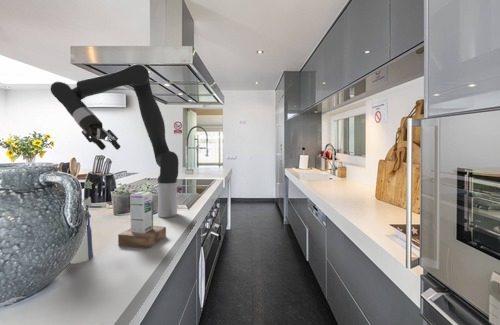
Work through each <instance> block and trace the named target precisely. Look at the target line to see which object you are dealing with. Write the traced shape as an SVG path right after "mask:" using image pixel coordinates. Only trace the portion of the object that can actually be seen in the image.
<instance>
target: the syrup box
mask: <svg viewBox="0 0 500 325" xmlns="http://www.w3.org/2000/svg"><path fill="white" fill-rule="evenodd" d="M153 204H154V202H153V192H151V191H138V192H135V193H132V194H129V208H130V209H129V210H130V229H131V232H133V233H143V234H145V233H146V232H148V231H150V230H151V229H153V226H154V215H153V214H154V213H153V210H154V207H153Z"/></svg>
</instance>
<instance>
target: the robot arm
mask: <svg viewBox="0 0 500 325" xmlns="http://www.w3.org/2000/svg"><path fill="white" fill-rule="evenodd" d="M125 86H132V88H133V91H134V92H135V94H136V97H137V98H136V99H137V101H138V108H139V110H140V111H139V113H140V115H141V116H140V117H141V119H142V122H143V125H144V127H145V130H146V133H147V136H148V138H149V142H150V143H151V146H152V149H153V150H152V151H153V154H154V159H155V162H156V165H157V166H158V167H159V169H160V170H159V174H158V175H159V176H158V178H157V217H159V218H163V219H164V218H173V217H176V216H178V193H177V192H178V186H177V184H178V178H179V177H178V176H179V164H180V163H179V157H178V155H177V153H175V151H171V150H170V149H169V146H168V143H167V140H166V127H165V120H164V117H163V114H162V111H161V109H160V107H159V105H158V102H157V101H156V99H155V96H154V94H153V91H152V88H151V84H150V72H149V70H148V68H147V67H146V66H144V65H142V64H139V63H136V64H135V63H134V64H132V65H130V66H128V67H125V68H122V69H121V70H118V71H115V72H111V73H107V74H103V75H98V76H93V77H88V78H85V79H80V80H78V81H77V82H76V86H75V87H73V88H71V86H70V85H69V84H67V83H66V82H64V81H55V82H53V83H52V84H51V85H50V93H51V94H52V95H53V96H54V98H55V99H57V101H58V102H59V103H60V104H61V105H62V106H63V107H64V109H65V110H66V111H67V112H68V113H69V115H70V116H71V117H72V118H73V120H74V122H76V124H77V125H78V126H79V127H80V129H82V131H81V133H82V135H83V136H84V138H86V140H87V141H88V142H89V143H93V144H95V145H96V146H97V147H98V148H99V149H100V150H101V151H104V150H105V149H106V147H107V146H106V144H105V143H104V142H103V141H105V142H107V143H110V144H111V145H112V146H113V148H114V149H115V150H117V151H118V150H120V148H121V145H120V143H119V142H118V140H119V138H118V136H116V134H115V133H114V132H113V131H112V130H111V129H108V130H106V129H104V127H103V123H102V121H101V120H100V119H99V117H97V116H96V114H95V113H94V111H92V110H91V109H89V107H88V106H87V105H86V104H85V103H84V101H82V100H83V99H85V98H87V97H91V96H96V95H99V94H103V93H105V92H108V91H111V90H114V89H116V88H117V89H118V88H120V87H125ZM102 140H103V141H102Z"/></svg>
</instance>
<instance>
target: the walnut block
mask: <svg viewBox="0 0 500 325" xmlns="http://www.w3.org/2000/svg"><path fill="white" fill-rule="evenodd" d="M117 237H118V239H117V240H118V241H117V242H118V246H123V247H129V248H130V247H131V248H140V249H150V248H152V247H153V246H154V245H156V244H158V243H159V242H160V241H162V240H163V239H165V238H166V237H167V227H166V226H162V225H161V226H158V225H153V229H151V230H150V231H148V232H146V233H145V234H143V233H133V232H131V228H128V229H127V230H124V231H123V232H120V233H119V234H117Z"/></svg>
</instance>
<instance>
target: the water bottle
mask: <svg viewBox="0 0 500 325" xmlns="http://www.w3.org/2000/svg"><path fill="white" fill-rule="evenodd" d="M93 184H94V182H91V181H90V179H87V181H85V182H84V185H86V189H91V190H92V189H93V188H92V185H93ZM82 200H83V201H84V204H85V205H86V207H87V210H88V225H87V231H86V235H85V238H84V240H83V243H82V245H81V247H80V249H79V251H78V253H77V254H76V256H75V257H74V259H73V260H72V262H71V264H70V265H74V264H81V263H84V262H87V261H90V260H91V259H93V257H94V252H93V251H94V250H93V238H92V237H93V236H92V235H93V234H92V227H91V223H90V222H91V217H92V215H91V214H90V211H89V207H91V206H92V205H93V204H92V198H91V196H89V197H88V198H87V199H82Z"/></svg>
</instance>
